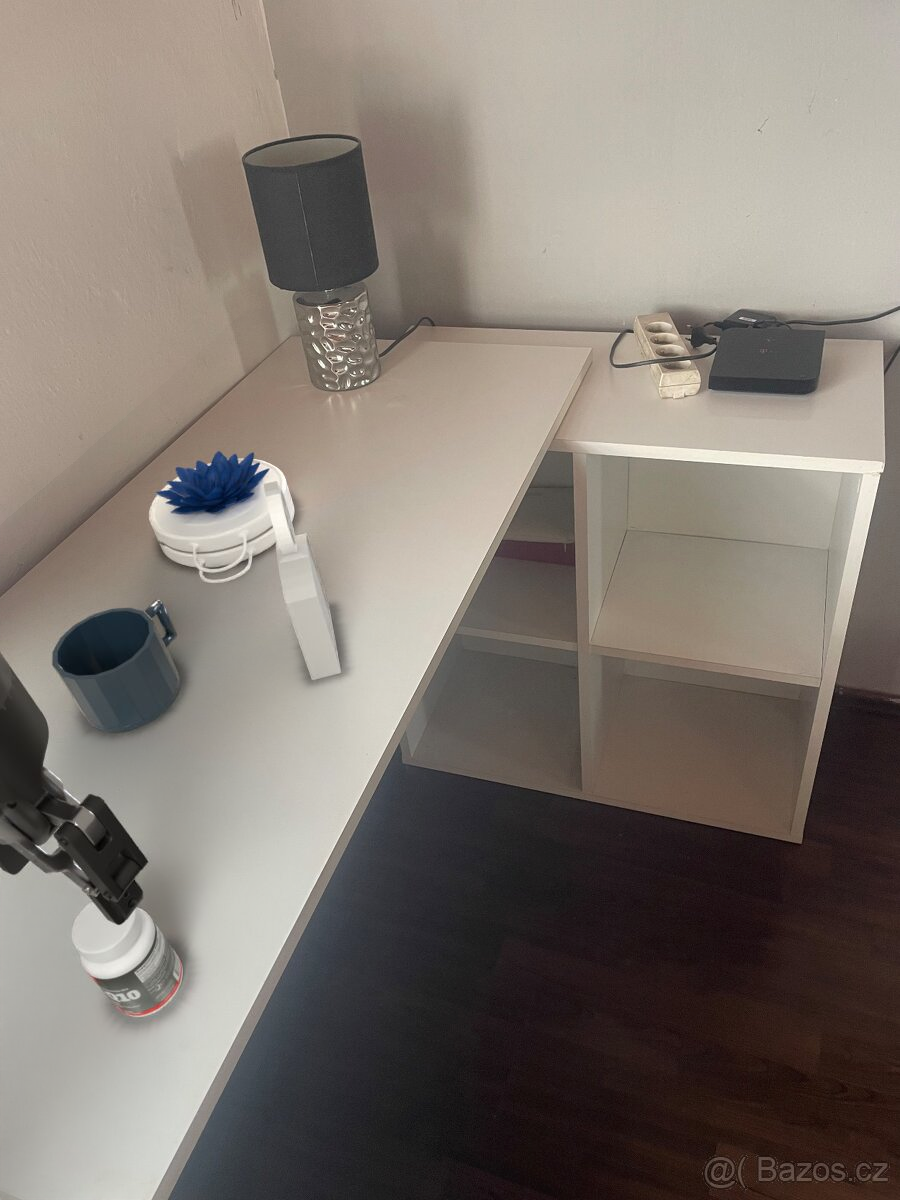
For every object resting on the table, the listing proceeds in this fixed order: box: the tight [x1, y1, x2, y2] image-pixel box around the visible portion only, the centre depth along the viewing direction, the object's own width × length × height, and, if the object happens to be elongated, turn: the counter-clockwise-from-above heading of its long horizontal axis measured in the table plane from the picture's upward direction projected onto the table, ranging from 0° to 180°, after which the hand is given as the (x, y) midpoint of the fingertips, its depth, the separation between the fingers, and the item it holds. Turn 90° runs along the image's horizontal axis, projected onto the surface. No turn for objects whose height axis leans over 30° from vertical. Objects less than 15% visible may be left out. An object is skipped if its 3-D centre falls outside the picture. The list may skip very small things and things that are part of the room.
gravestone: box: [264, 481, 342, 681], centre depth 77 cm, size 3×9×18 cm, turn 12°
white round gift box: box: [148, 450, 295, 584], centre depth 96 cm, size 7×16×20 cm
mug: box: [51, 599, 181, 733], centre depth 79 cm, size 12×9×7 cm
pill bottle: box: [71, 900, 184, 1018], centre depth 56 cm, size 5×5×8 cm
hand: (74, 884), depth 51 cm, fingers open, 8 cm apart
